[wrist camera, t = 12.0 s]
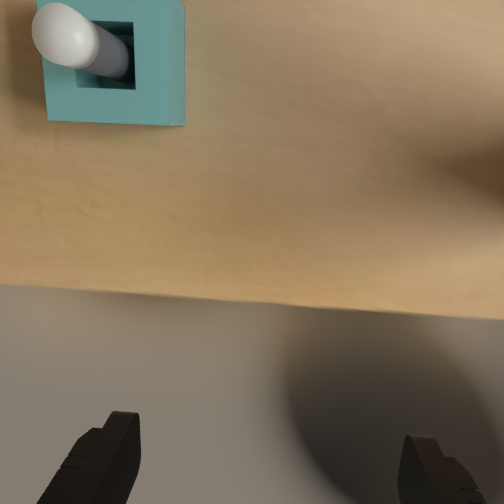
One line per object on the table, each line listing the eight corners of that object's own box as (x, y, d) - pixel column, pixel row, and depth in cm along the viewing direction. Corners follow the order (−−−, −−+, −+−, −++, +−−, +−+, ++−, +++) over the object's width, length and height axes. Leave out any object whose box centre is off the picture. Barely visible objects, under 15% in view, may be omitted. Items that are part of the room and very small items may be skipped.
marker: (145, 44, 36) (83, 3, 25) (147, 85, 37) (87, 65, 26) (107, 43, 36) (28, 2, 25) (110, 84, 37) (34, 63, 26)
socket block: (184, 6, 36) (166, -17, 30) (184, 126, 39) (168, 125, 33) (72, 2, 36) (34, -21, 31) (81, 121, 39) (47, 120, 34)
